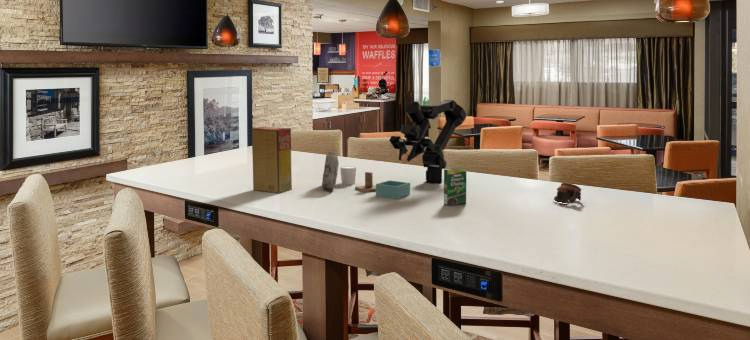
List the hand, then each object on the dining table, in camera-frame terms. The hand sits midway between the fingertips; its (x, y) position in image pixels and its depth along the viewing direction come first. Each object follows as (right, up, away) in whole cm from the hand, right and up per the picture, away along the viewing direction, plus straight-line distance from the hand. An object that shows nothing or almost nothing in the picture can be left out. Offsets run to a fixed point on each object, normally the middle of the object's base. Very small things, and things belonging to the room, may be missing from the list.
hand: (403, 160), depth 228 cm
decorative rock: (-30, -12, +7) cm, 33 cm away
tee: (-14, -12, +4) cm, 19 cm away
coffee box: (+17, -16, -21) cm, 32 cm away
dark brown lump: (+59, -16, -18) cm, 64 cm away
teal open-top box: (-4, -13, -5) cm, 15 cm away
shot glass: (-23, -10, +18) cm, 31 cm away
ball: (+1, -1, +1) cm, 2 cm away
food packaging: (-52, -12, +4) cm, 54 cm away
